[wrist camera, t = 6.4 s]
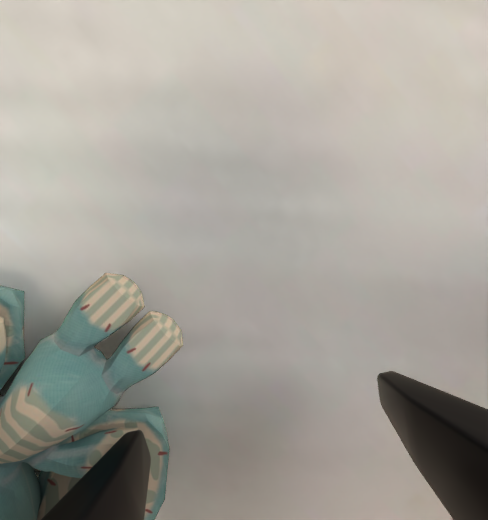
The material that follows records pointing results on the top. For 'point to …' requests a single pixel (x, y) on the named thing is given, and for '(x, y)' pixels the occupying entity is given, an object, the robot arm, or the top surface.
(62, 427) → the stuffed animal
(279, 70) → the top surface
